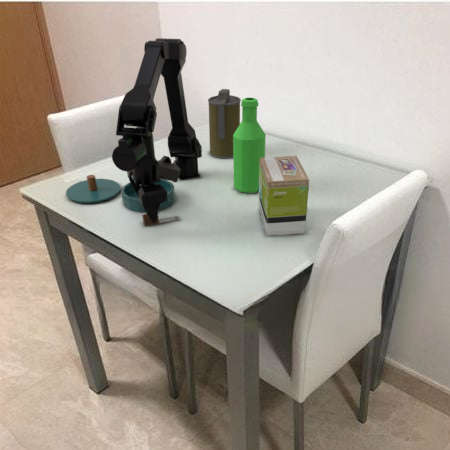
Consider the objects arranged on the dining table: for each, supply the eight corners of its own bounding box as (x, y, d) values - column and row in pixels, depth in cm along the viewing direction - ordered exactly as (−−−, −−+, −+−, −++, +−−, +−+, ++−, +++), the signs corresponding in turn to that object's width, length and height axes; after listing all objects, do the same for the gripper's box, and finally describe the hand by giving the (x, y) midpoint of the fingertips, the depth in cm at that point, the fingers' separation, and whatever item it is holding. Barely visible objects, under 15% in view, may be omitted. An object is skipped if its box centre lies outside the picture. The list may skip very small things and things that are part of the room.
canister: (212, 146, 172) (211, 85, 160) (242, 148, 170) (243, 87, 158) (206, 158, 163) (204, 95, 151) (237, 160, 162) (237, 96, 150)
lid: (115, 178, 151) (113, 162, 148) (125, 199, 140) (122, 182, 137) (64, 186, 147) (60, 170, 144) (69, 208, 136) (65, 191, 133)
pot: (167, 186, 146) (166, 174, 144) (180, 206, 135) (179, 194, 133) (119, 194, 143) (117, 182, 140) (128, 216, 132) (127, 203, 130)
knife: (176, 216, 131) (175, 208, 129) (178, 220, 129) (177, 211, 128) (143, 223, 128) (142, 214, 127) (144, 226, 127) (143, 218, 125)
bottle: (267, 184, 146) (270, 95, 131) (259, 196, 140) (261, 104, 125) (238, 180, 149) (238, 93, 134) (229, 192, 142) (228, 102, 127)
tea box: (257, 209, 133) (258, 156, 124) (294, 207, 134) (297, 154, 125) (265, 236, 121) (267, 180, 113) (306, 234, 122) (311, 177, 113)
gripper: (186, 163, 112) (190, 224, 122) (165, 138, 126) (171, 194, 136) (138, 171, 109) (146, 233, 119) (122, 144, 123) (131, 201, 133)
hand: (150, 214), depth 127 cm, fingers open, 9 cm apart
